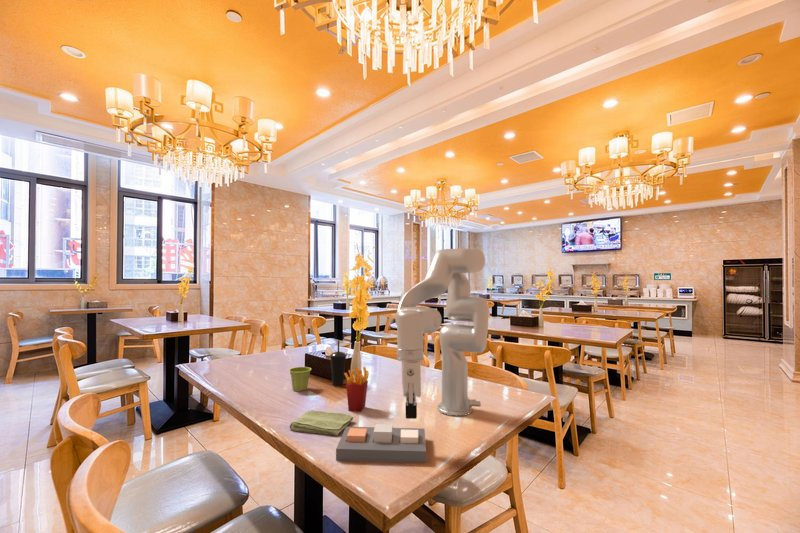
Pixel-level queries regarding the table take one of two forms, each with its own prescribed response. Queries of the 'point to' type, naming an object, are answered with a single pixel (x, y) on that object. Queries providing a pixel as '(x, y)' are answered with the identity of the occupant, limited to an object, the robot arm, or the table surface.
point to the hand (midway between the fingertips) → (411, 417)
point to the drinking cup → (338, 367)
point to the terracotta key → (357, 435)
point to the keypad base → (382, 448)
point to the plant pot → (300, 378)
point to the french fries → (357, 389)
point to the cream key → (409, 436)
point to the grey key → (383, 433)
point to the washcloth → (321, 422)
